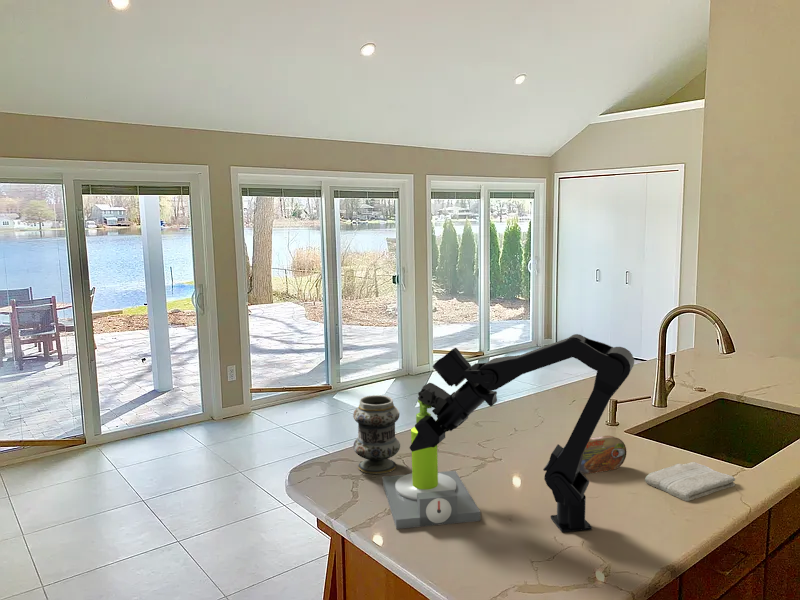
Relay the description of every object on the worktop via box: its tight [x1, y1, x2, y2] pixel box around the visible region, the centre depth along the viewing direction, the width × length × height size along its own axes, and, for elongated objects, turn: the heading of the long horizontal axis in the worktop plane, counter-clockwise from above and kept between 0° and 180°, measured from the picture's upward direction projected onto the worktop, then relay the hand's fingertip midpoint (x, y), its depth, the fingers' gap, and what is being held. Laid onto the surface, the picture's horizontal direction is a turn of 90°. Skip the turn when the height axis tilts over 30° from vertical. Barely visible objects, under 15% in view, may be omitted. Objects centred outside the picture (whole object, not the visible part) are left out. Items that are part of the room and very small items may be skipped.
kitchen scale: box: [382, 470, 481, 530], centre depth 142 cm, size 22×18×6 cm
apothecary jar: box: [352, 394, 401, 475], centre depth 162 cm, size 12×12×18 cm
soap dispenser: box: [410, 399, 439, 489], centre depth 144 cm, size 6×7×20 cm
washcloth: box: [644, 461, 736, 502], centre depth 149 cm, size 12×18×3 cm, turn 119°
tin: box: [580, 435, 627, 475], centre depth 158 cm, size 15×3×8 cm, turn 105°
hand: (419, 442), depth 145 cm, fingers open, 9 cm apart
